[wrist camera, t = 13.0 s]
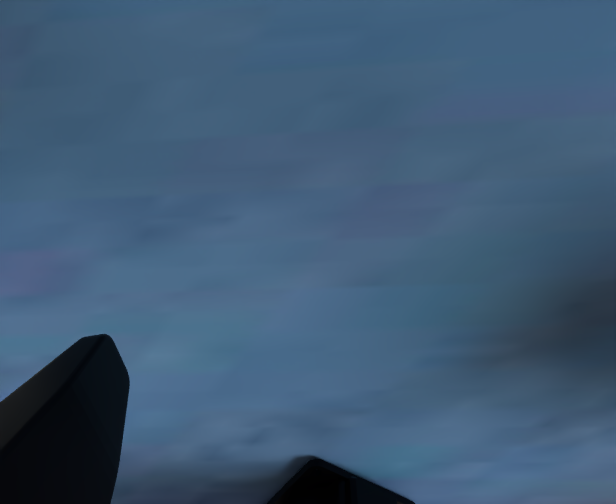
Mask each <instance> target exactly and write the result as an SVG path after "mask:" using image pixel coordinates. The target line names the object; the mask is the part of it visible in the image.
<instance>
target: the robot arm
mask: <svg viewBox="0 0 616 504" xmlns="http://www.w3.org/2000/svg"><path fill="white" fill-rule="evenodd" d="M129 386H130V381H129V375H128V372H127V369H126V367H125V365H124V363H123V360H122V358H121V356H120V354H119V352H118V350H117V347H116V345H115V343H114V341H113V339H112V338H111V337H110V336H109V335H107V334H100V335H94V336H87V337H83V338H81V339H79V340H78V341H77V342H76V343H74V344H73V345H72V346H71V347H69V348H68V349H67V350H66V351H64V352H63V353H62V354H60V355H59V356H58V357H57V358H55V359H54V360H53V361H52V362H50V363H49V364H48V365H47V366H45V367H44V368H43V369H42V370H40V371H39V372H38V373H37V374H35V375H34V376H33V377H32V378H30V379H29V380H28V381H26V382H25V383H24V384H23V385H21V386H20V387H19V388H18V389H16V390H15V391H14V392H13V393H11V394H10V395H9V396H8V397H6V398H5V399H4V400H3V401H1V402H0V504H110V503H111V499H112V495H113V491H114V487H115V482H116V478H117V473H118V468H119V461H120V455H121V447H122V440H123V432H124V425H125V417H126V410H127V402H128V394H129ZM316 469H318V470H316ZM267 504H415V503H414V502H413V501H410V500H408V499H406V498H404V497H402V496H400V495H397V494H395V493H393V492H391V491H389V490H386V489H384V488H382V487H380V486H378V485H376V484H373V483H371V482H369V481H367V480H365V479H362V478H360V477H358V476H356V475H354V474H351V473H349V472H347V471H345V470H343V469H341V468H338V467H336V466H334V465H332V464H330V463H327V462H325V461H323V460H320V459H313V460H310V461H309V462H307V463H306V464H305V465H304V467H303V468H302V469H301V470H300V471H299V472H298V473H297V474H296V475H295V476H294V477H293V478H292V479H291V480H290V481H289V482H288V483H287V484H286V485H285V486H284V487H283V488H282V489H281V490H280V491H279V492H278V493H277V494H276V495H275V496H274V497H273V498H272V499H271V500H270V501H269V502H268V503H267Z"/></svg>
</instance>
